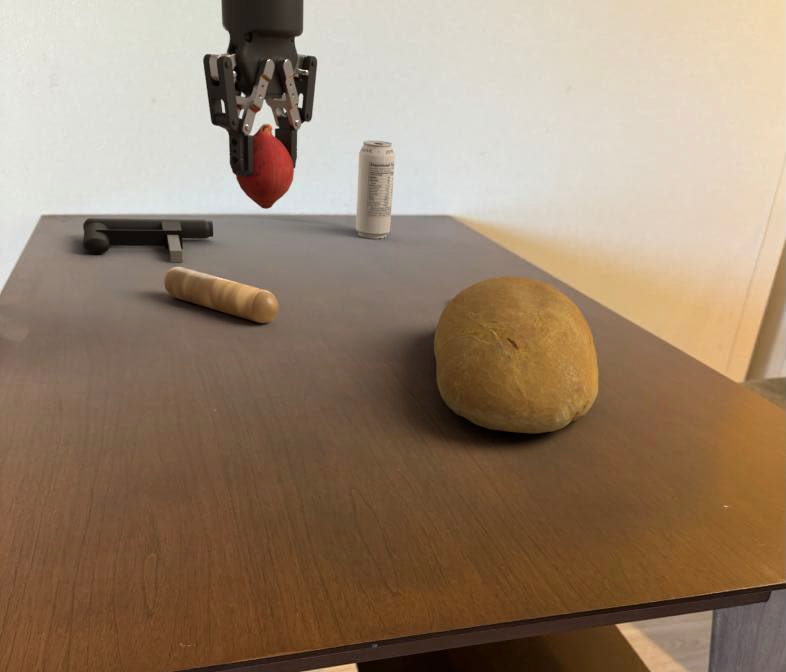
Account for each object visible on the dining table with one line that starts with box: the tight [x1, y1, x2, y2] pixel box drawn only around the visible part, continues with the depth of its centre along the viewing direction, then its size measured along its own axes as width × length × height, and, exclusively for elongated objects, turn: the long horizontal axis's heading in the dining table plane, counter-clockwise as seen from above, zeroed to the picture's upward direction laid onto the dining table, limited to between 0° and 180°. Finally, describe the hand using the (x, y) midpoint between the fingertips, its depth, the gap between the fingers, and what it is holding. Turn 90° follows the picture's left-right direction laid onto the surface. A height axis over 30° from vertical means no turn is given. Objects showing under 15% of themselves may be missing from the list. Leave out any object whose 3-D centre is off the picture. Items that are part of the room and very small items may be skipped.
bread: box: [433, 275, 599, 434], centre depth 93 cm, size 18×35×10 cm, turn 178°
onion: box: [235, 123, 295, 210], centre depth 86 cm, size 6×6×8 cm
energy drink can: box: [355, 140, 396, 240], centre depth 146 cm, size 6×6×15 cm
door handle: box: [82, 217, 214, 263], centre depth 132 cm, size 3×20×16 cm
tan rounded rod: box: [163, 266, 280, 324], centre depth 108 cm, size 18×4×4 cm, turn 57°
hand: (264, 171), depth 86 cm, fingers closed on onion, 6 cm apart
